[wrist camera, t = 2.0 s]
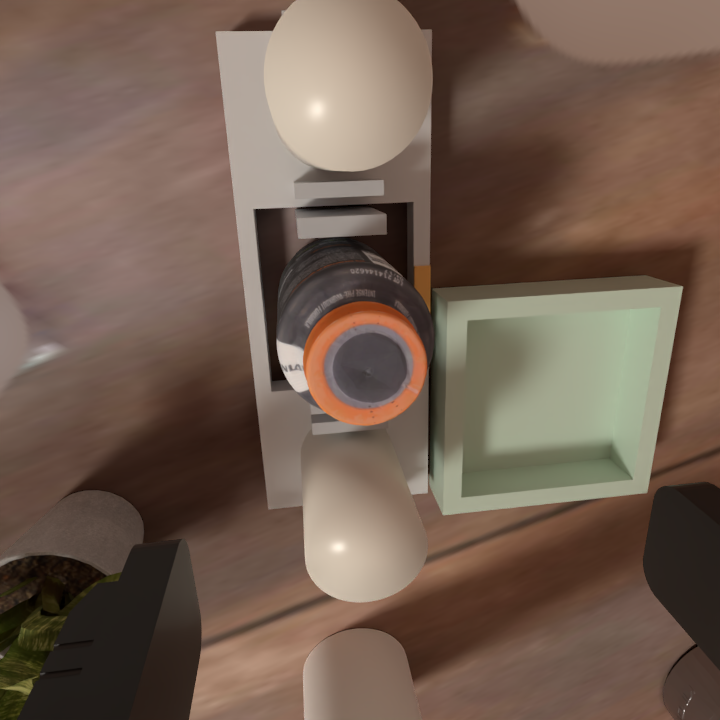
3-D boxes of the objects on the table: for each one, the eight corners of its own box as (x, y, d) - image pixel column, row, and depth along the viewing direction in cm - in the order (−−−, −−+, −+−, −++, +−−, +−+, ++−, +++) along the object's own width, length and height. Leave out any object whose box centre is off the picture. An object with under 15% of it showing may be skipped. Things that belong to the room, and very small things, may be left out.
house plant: (219, 645, 34) (164, 1029, 19) (-19, 640, 32) (-302, 1075, 17) (240, 448, 30) (191, 743, 14) (-34, 425, 27) (-441, 748, 12)
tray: (645, 275, 29) (683, 286, 26) (616, 465, 33) (647, 492, 31) (431, 288, 28) (447, 301, 25) (429, 485, 32) (443, 515, 29)
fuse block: (423, 37, 24) (502, -40, 15) (421, 478, 32) (472, 598, 23) (219, 40, 23) (177, -42, 14) (269, 493, 31) (261, 624, 22)
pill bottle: (279, 349, 28) (273, 457, 18) (277, 234, 26) (269, 278, 16) (390, 348, 29) (449, 451, 18) (397, 236, 27) (467, 280, 16)
